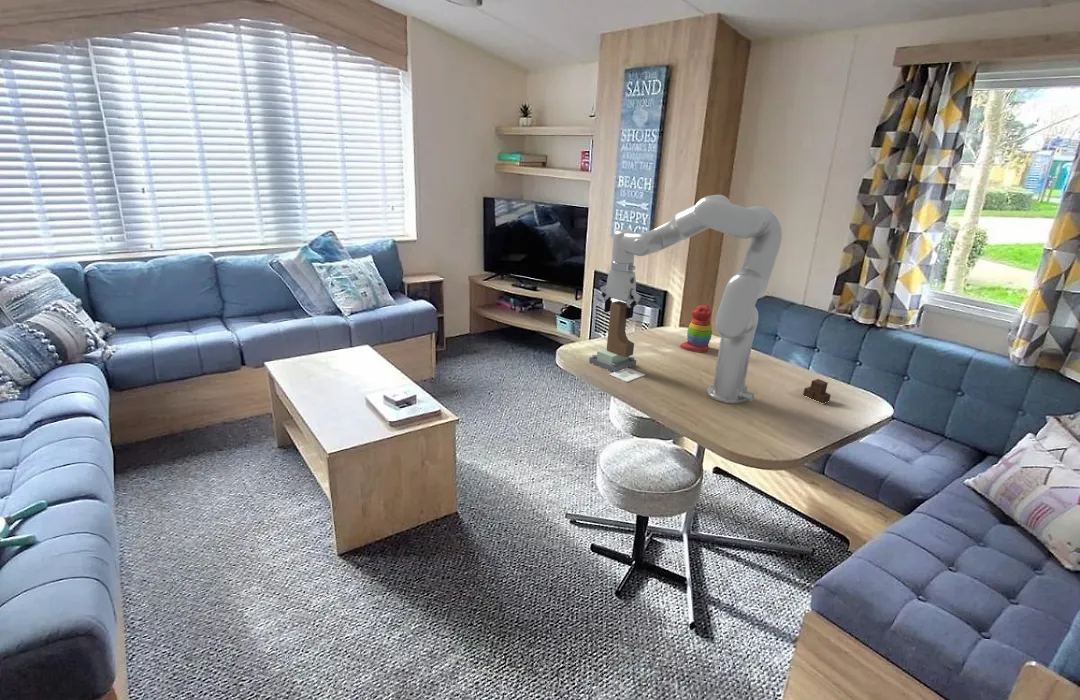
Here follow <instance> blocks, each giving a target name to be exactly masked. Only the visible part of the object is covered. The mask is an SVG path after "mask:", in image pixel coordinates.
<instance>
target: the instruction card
mask: <svg viewBox="0 0 1080 700" xmlns="http://www.w3.org/2000/svg"><path fill="white" fill-rule="evenodd" d="M610 375H611V377H613V376H614V377H613V378H615V377H616V379H618V380H621V381H623V382H625V383H628V382H631V381H634V380H636V379H639V378H642V377H644V376H645V375H646V374H645V373H643V372H639V371H637V370H635V369H632V368H631V367H630V368H625V369H624V370H623V371H620V370H619V371H616V372H611V373H608V376H610Z"/></svg>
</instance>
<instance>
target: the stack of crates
mask: <svg viewBox="0 0 1080 700" xmlns="http://www.w3.org/2000/svg"><path fill="white" fill-rule="evenodd" d="M810 383H811V384H810V386H808V387H805V388H804V389H803V394H802V396H803V395H804V396H807V397H809V398H811V399H814V400H816V401H819V402H821V403H825V402H828V401H829V402H830V399H831V395H832V394H830V393H827V392H826V391H827V389H828V384H829V382H827V381H825V380H822V379H820V378H817V379H813V380H811V382H810ZM804 396H803V397H804ZM807 397H806V398H807ZM809 398H808V399H809ZM811 399H810V400H811ZM816 401H815V402H816Z"/></svg>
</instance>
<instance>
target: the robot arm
mask: <svg viewBox="0 0 1080 700" xmlns="http://www.w3.org/2000/svg"><path fill="white" fill-rule="evenodd" d="M781 225H782V224H781V222H780V221H779V219H778V217H777V216H776V215H775V213H773V212H772V211H771V210H770V209H768V208H766V207H764V206H761V205H755V206H754V205H753V206H749V207H744V206H741V205H738V204H735V203H731V201H730V199H729V198H728V197H727V196H725V195H723V194H713V195H706V196H704V197H702V198H700V199H699V200H698V201H697V202H696V204H693V205H691V206H689V207H687V208H685V209H683V210H681V211H679V212H677V213H676V214H674V216H673V217H672V219H671V220H669V221H667V222H666V223H664V224H661V225H660V226H658V227H656V228H653V229H651V230H647V231H643V232H635V231H634V230H630V229H617V230H615V231H614V233H613V237H612V238H613V239H612V241H613V242H612V252H611V253H612V254H611V264H610V268H609V272H608V276H607V280H606V284H605V285H602V286H600V287H599V289H600V292H601V296H602V300H603V301H604V309H603V312H604V313H610V308H611V303H612V302H613V299H614V300H618V301H621V302H624V303H626V304H627V306H628V307H627V308H626V317H625V318H626V319H627V320H628V319H633V317H634V310H635V309H634V308H635V307H636V306H637V305H638V304H639V301H641V298H642V296H641V295H640V294H638V293H637V290H636V289H637V279H636V272H635V270H636V266H635V265H634V262H635V256H637V257H646V256H649V255H651V254H655V253H658V252H661V251H663V250H664V249H666V248H669V247H671V246H673V245H676V244H677V243H680V242H682V241H686V240H687V239H689V238H691V237H693V236H696V235H697V234H699V233H702V232H704V231H706V230H709V229H712V230H714V231H717V232H719V233H723V234H725V235H728V236H731V237H734V238H737V239H745V240H746V239H751V241H750V244H749V245H748V249H746V253H745V257H744V260H743V263H742V266H741V267H740V270H739V272H737V273H736V274H734V275H733V276H732V277H731V278H730V279H729V280H728V281H727V284H726V286H725V289H724V291H723V294H722V297H721V300H720V305H719V307H718V310H717V313H716V316H715V327H716V331H717V333H719V334H720V336H721V337H720V343H719V348H718V352H717V353H718V354H717V359H716V365H715V370H714V371H715V372H714V377H713V382H712V385H710V386H708V387H707V389H706V394H707V395H708V396H709V397H710V398H712V399H713V400H716V401H718V402H722V403H726V404H742V403H744V402H746V401H751V402H753V401H754V400H755V393H754V392H752V391H749V390H748V385H747V384H746V379H747V374H748V373H747V372H748V369H749V368H748V367H749V362H750V359H751V352H752V347H753V343H754V338H755V333H756V332H757V327H758V325H759V324H758V323H759V311H758V309H757V307H756V304H757V301H758V299H759V298H761V297H762V296H763V295H764V294H765V293H766V291H767V288H768V285H769V282H770V279H771V276H772V272H773V269H774V267H775V263H776V260H777V257H778V254H779V251H780V249H781V244H782V240H783V239H782V238H783V237H782V236H783V231H782V227H781Z"/></svg>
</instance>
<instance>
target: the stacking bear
mask: <svg viewBox="0 0 1080 700" xmlns="http://www.w3.org/2000/svg"><path fill="white" fill-rule="evenodd" d="M691 316H692V317H693V318H692V319H691V322H690V323H689V325H688V328H687V334H686V339H687V341H685V342H681V343H680V346H679V347H680V348H681V349H682V350H686V351H688V352H689V351H690V352H695V353H706V352H708V351H709V349H710V347H709V344H710V341H711V339H712V335H713V329H712V327H713V326H712V323H711V321H710V318H711V316H712V310H711V308H710V306H709V305H708V304H706V305H702V304H700V305H698V306H696V307H695V308H694V309H693V310H692V311H691Z"/></svg>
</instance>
